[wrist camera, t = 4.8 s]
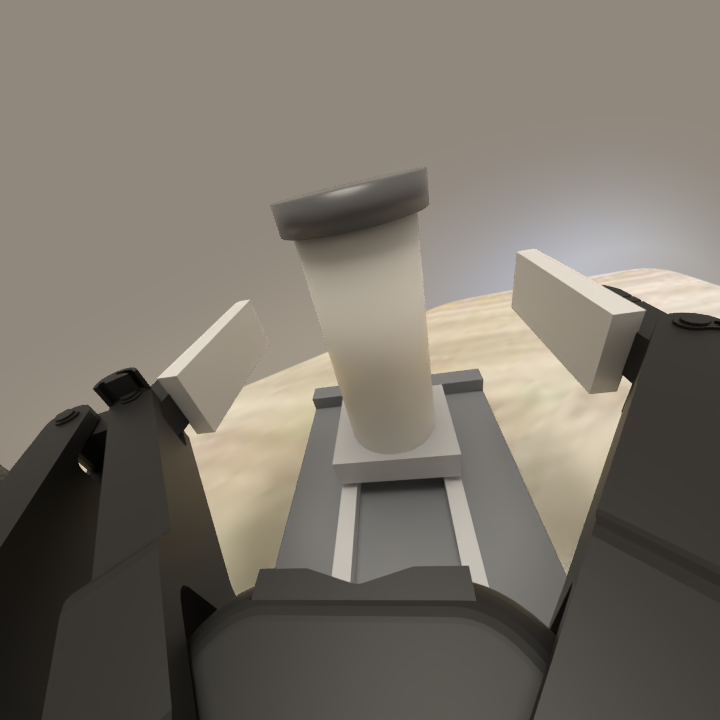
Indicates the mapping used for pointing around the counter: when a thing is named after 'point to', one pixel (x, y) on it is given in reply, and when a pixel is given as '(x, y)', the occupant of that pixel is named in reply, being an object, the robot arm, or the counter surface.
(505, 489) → the console
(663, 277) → the counter surface
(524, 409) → the counter surface
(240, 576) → the counter surface
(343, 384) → the fader
